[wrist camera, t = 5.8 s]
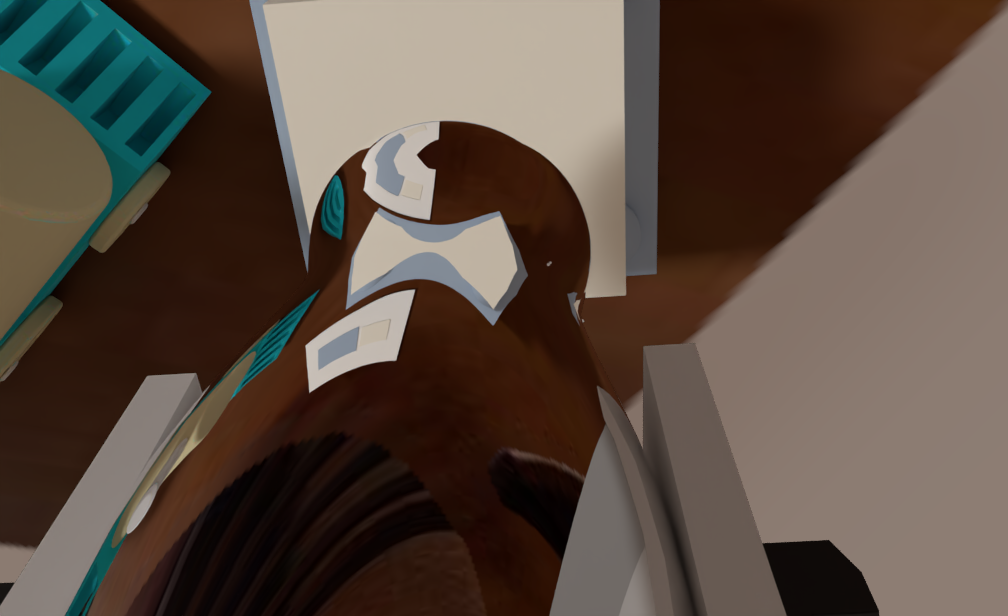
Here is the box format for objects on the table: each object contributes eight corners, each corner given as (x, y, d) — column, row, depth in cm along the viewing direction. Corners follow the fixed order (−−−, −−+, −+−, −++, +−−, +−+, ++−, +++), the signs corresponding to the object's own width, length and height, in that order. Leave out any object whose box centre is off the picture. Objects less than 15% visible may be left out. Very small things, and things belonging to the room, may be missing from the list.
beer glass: (471, 428, 22) (403, 1363, 9) (232, 263, 19) (-341, 1185, 6) (677, 238, 19) (1024, 1175, 6) (426, 20, 17) (115, 763, 4)
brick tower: (332, 246, 34) (287, 359, 27) (267, -90, 28) (188, -55, 21) (641, 225, 34) (675, 335, 27) (641, -121, 28) (686, -96, 21)
